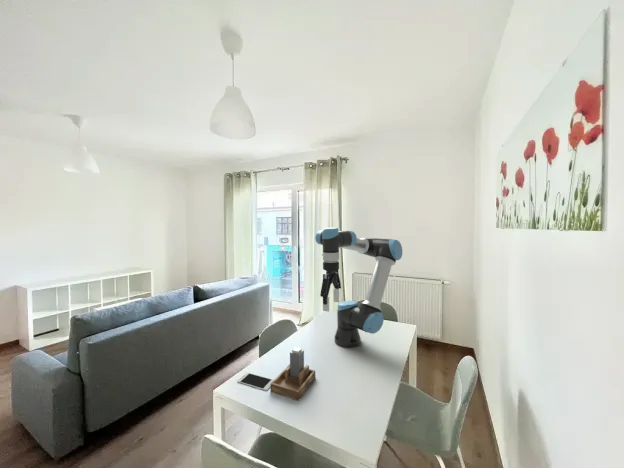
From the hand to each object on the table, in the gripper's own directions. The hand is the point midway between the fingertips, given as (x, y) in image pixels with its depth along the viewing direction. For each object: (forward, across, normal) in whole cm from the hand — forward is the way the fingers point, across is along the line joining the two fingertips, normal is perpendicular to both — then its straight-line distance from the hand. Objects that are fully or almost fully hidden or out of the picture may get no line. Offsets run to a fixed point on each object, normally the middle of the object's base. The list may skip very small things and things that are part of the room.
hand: (331, 306), depth 120 cm
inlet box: (+30, +18, -11) cm, 37 cm away
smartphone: (+30, +23, -27) cm, 47 cm away
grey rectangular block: (+29, +15, -11) cm, 34 cm away
